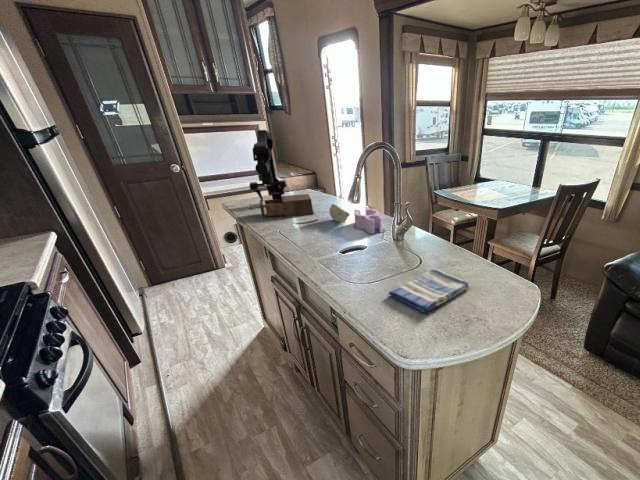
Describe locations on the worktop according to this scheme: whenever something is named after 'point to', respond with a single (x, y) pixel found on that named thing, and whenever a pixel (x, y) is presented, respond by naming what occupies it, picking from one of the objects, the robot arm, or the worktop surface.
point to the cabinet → (297, 205)
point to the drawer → (270, 207)
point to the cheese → (338, 214)
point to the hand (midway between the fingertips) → (271, 200)
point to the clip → (369, 220)
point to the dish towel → (429, 290)
